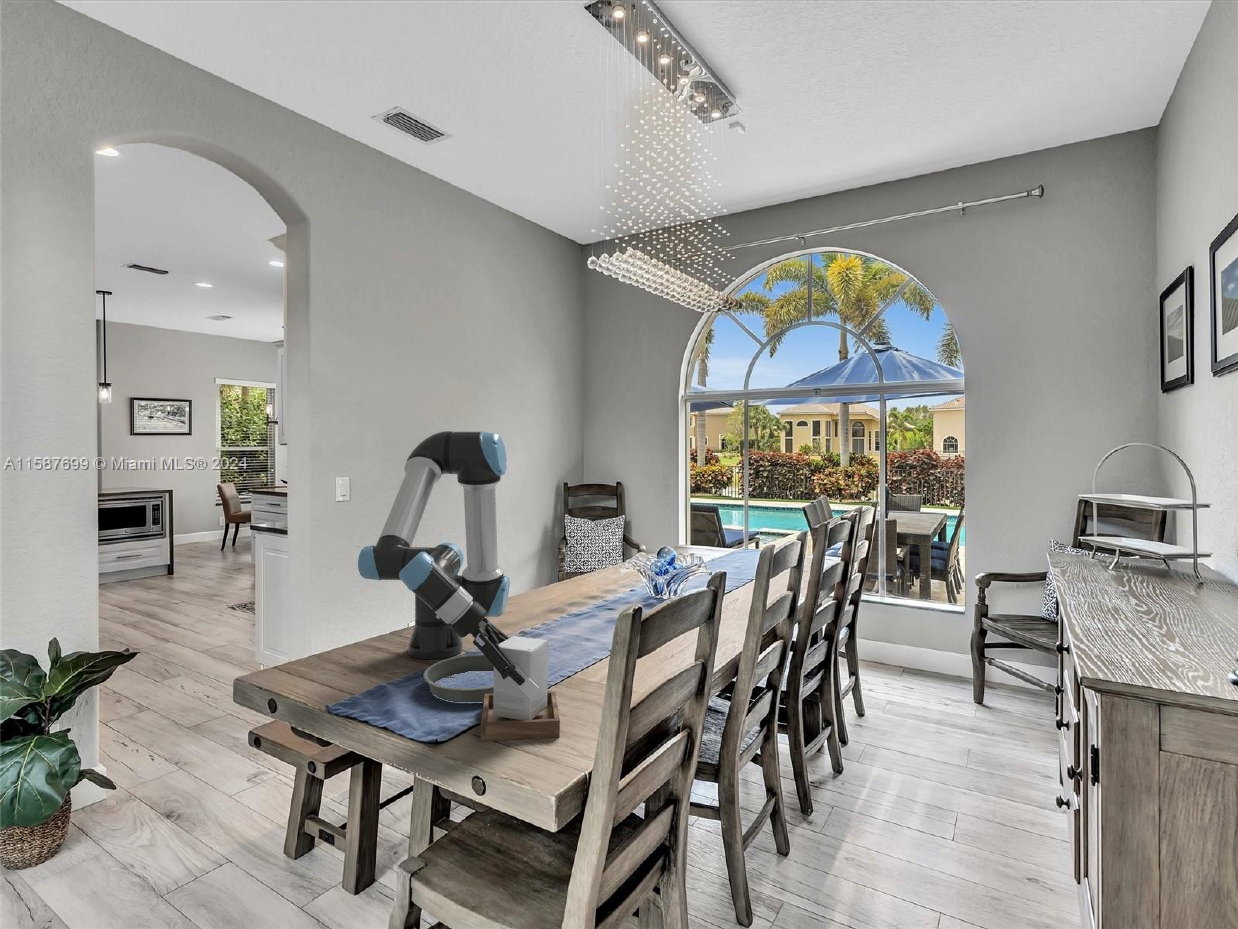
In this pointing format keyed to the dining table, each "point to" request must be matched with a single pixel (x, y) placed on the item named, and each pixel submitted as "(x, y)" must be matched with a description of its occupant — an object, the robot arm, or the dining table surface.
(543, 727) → the walnut tray
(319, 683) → the dining table surface
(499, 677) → the supplement box
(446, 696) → the cake pan
